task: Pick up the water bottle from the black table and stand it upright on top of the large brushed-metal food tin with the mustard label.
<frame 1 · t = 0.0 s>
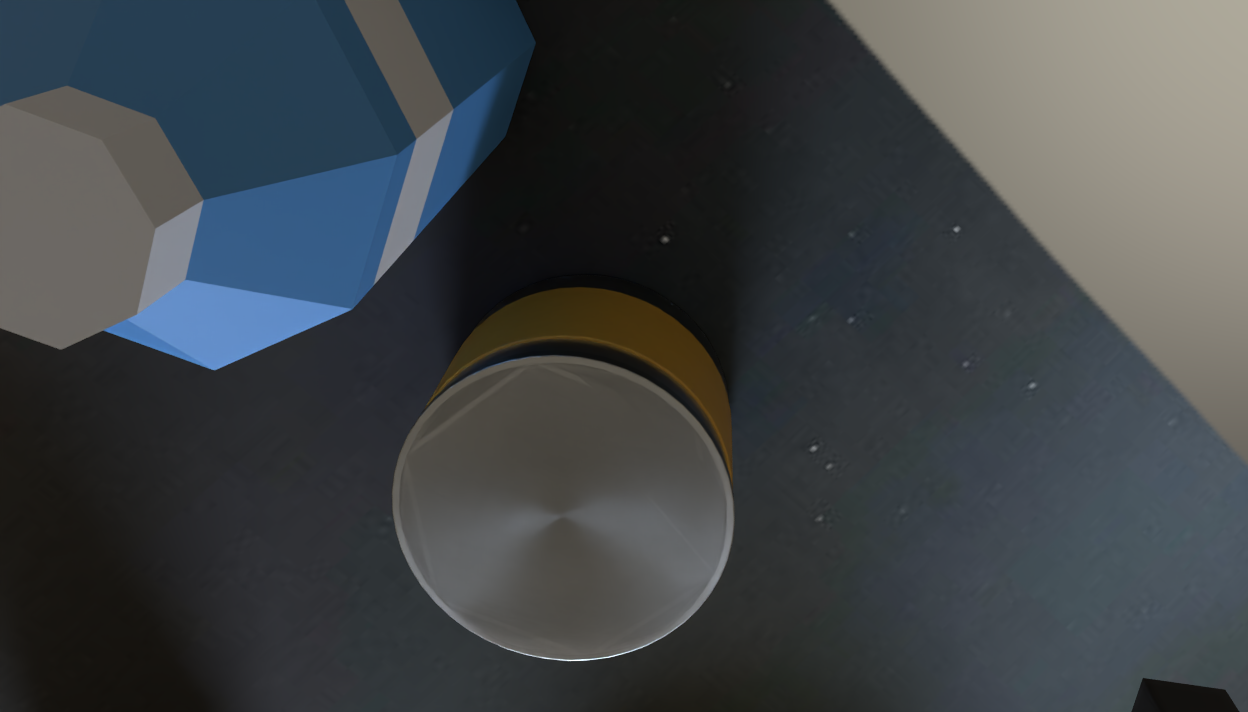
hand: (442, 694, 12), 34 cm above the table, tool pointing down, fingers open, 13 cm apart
tin: (589, 406, 47), on the table
water bottle: (408, 46, 43), on the table
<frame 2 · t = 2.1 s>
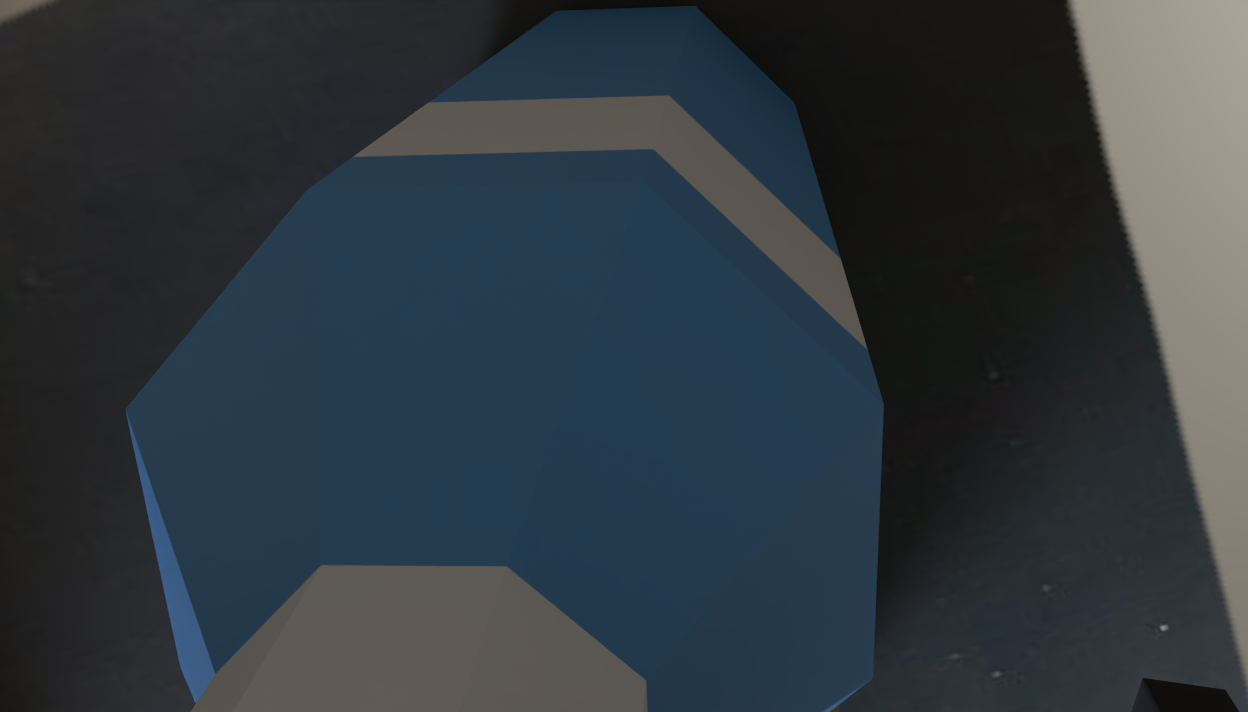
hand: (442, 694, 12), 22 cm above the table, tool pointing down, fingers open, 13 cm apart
water bottle: (632, 172, 32), on the table
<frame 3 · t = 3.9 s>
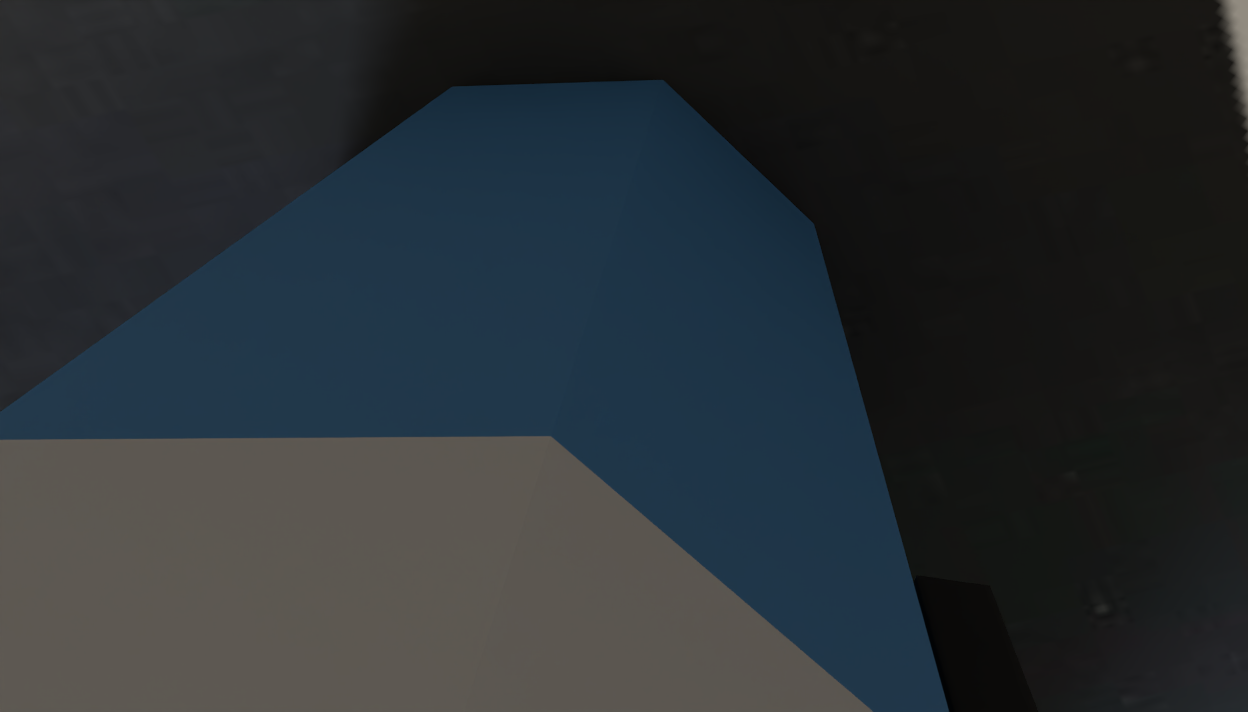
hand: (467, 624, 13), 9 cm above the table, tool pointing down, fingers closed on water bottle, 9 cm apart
water bottle: (573, 321, 22), on the table, touching gripper
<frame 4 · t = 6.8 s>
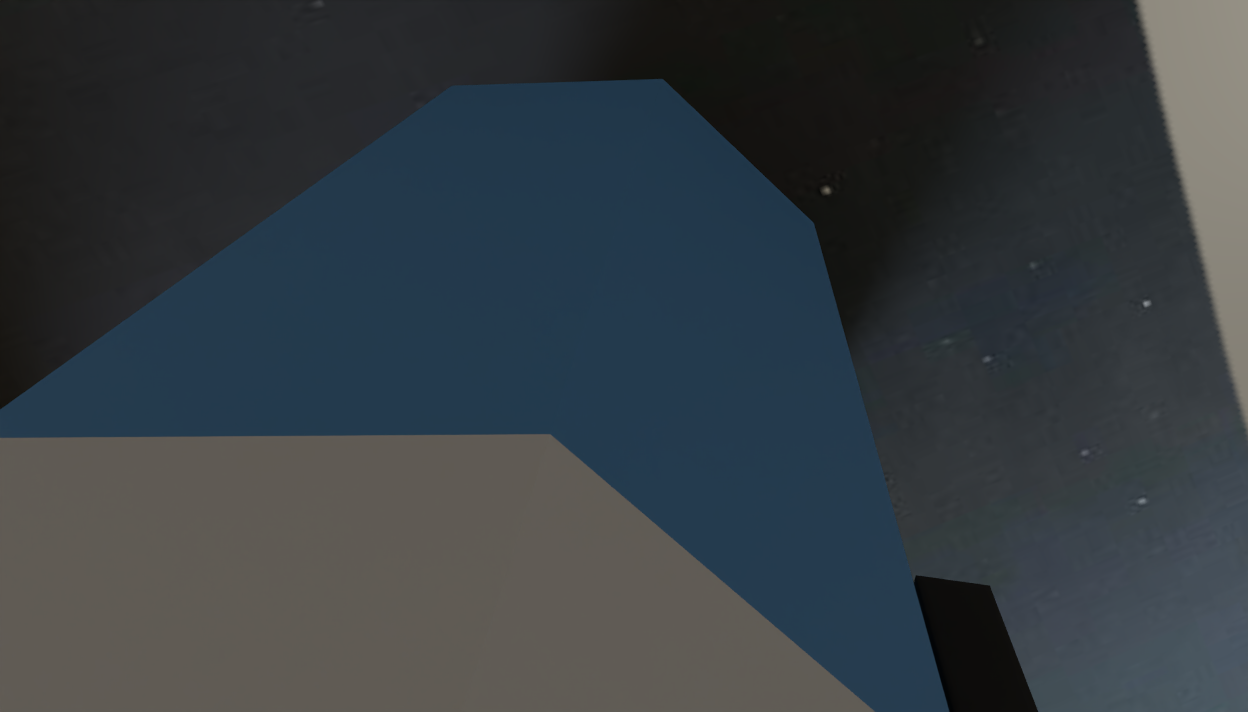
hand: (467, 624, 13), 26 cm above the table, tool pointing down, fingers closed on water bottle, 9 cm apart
water bottle: (572, 320, 22), point 16 cm above the table, touching gripper
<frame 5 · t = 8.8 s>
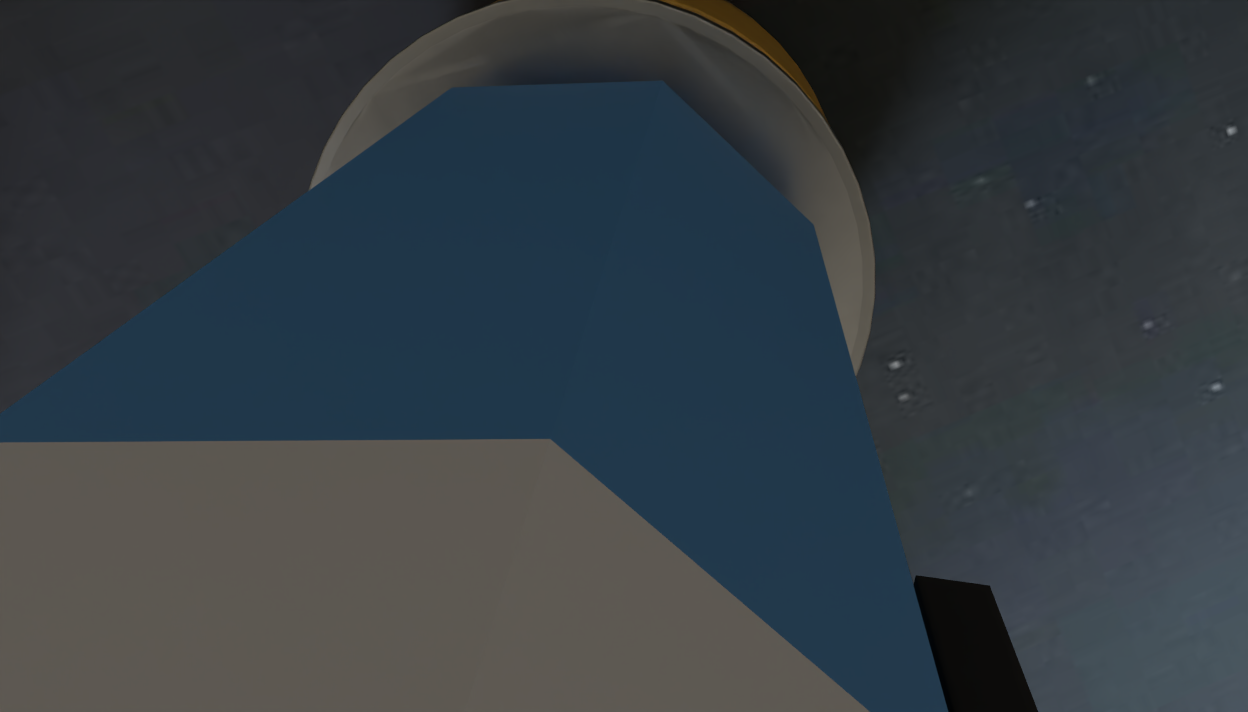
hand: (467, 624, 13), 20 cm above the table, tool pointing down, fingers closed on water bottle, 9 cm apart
tin: (619, 187, 32), on the table
water bottle: (572, 322, 22), point 11 cm above the table, touching gripper
when the fingers open (18 cm above the table, at t = 10.0 s): water bottle stays where it is, resting on tin.
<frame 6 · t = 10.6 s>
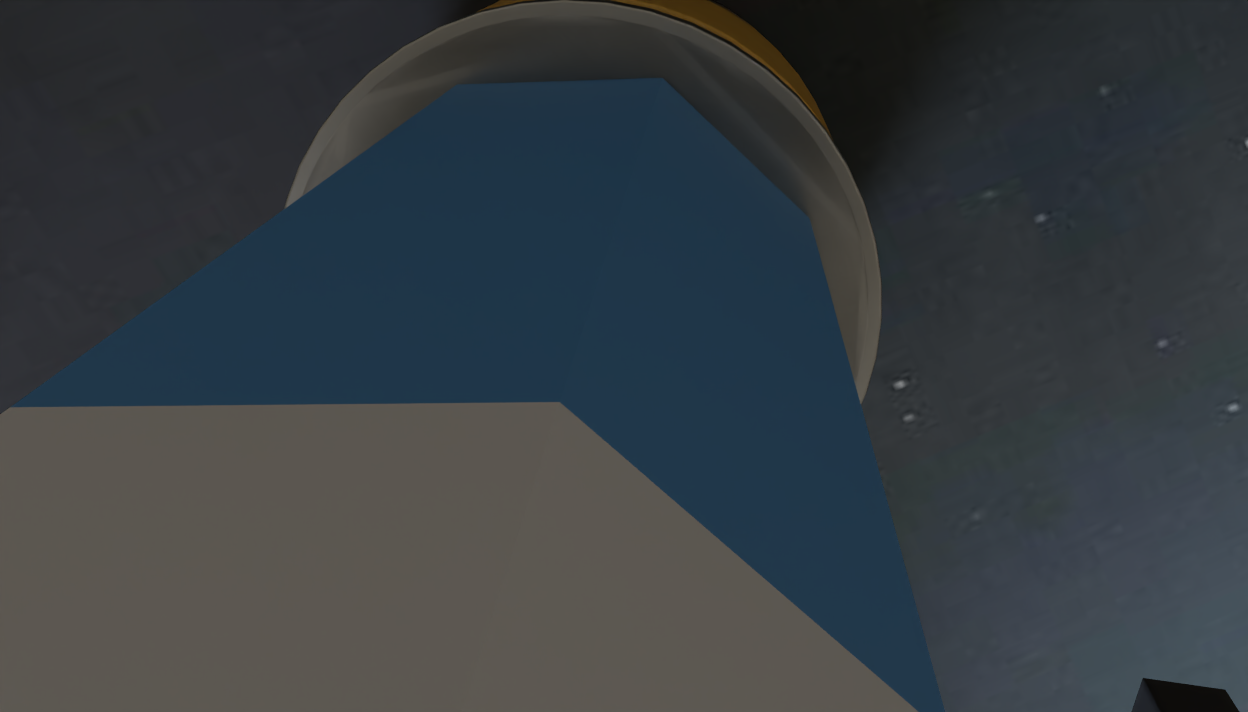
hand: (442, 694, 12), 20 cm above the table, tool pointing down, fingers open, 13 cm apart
tin: (613, 200, 30), on the table, touching water bottle
water bottle: (574, 313, 22), point 9 cm above the table, touching tin
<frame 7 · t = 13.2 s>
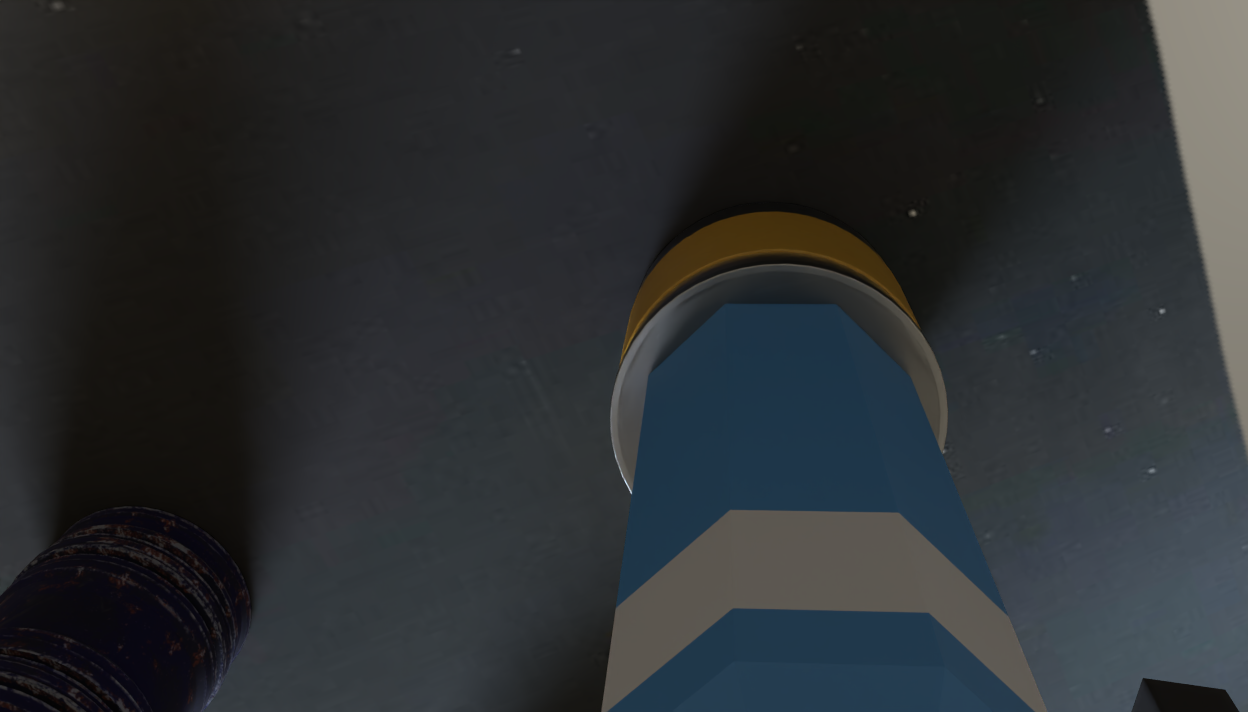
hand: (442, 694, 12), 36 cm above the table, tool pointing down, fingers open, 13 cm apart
tin: (766, 334, 49), on the table, touching water bottle
storage jar: (151, 595, 55), on the table
water bottle: (776, 423, 40), point 9 cm above the table, touching tin
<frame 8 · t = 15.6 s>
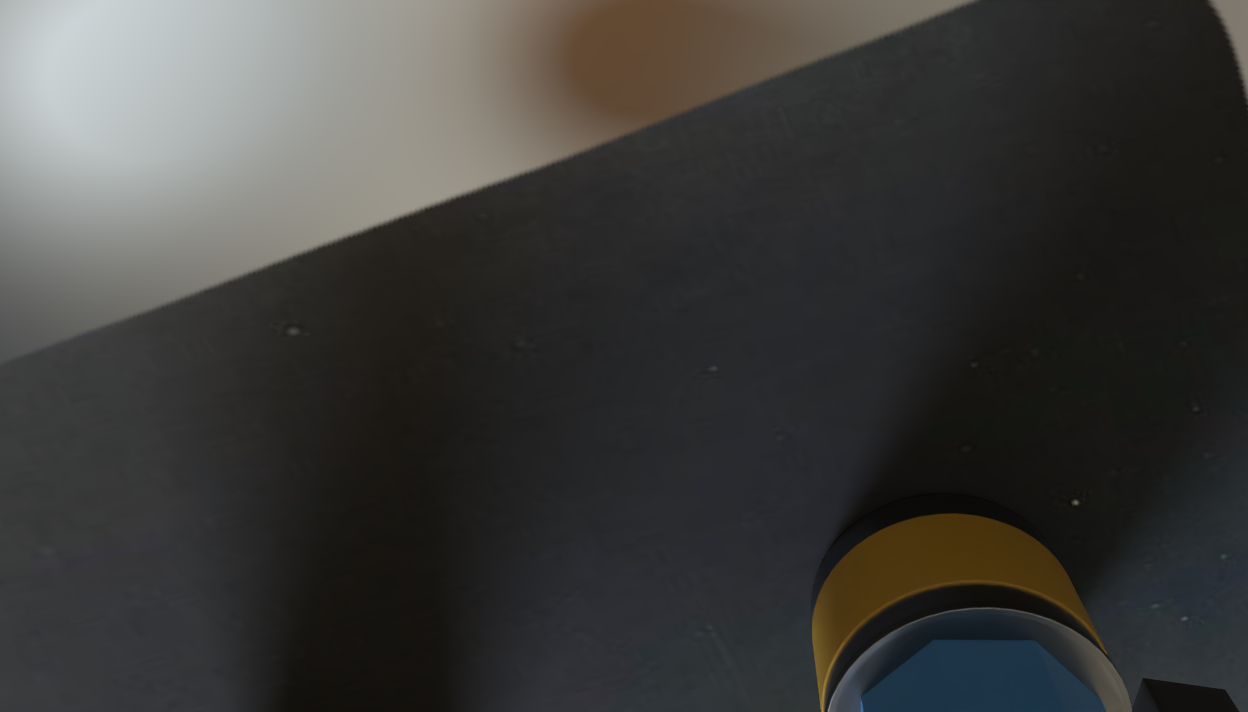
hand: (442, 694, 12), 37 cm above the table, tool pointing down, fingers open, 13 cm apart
tin: (936, 603, 53), on the table, touching water bottle
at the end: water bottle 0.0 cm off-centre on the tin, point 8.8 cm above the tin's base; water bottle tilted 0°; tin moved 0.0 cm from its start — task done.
